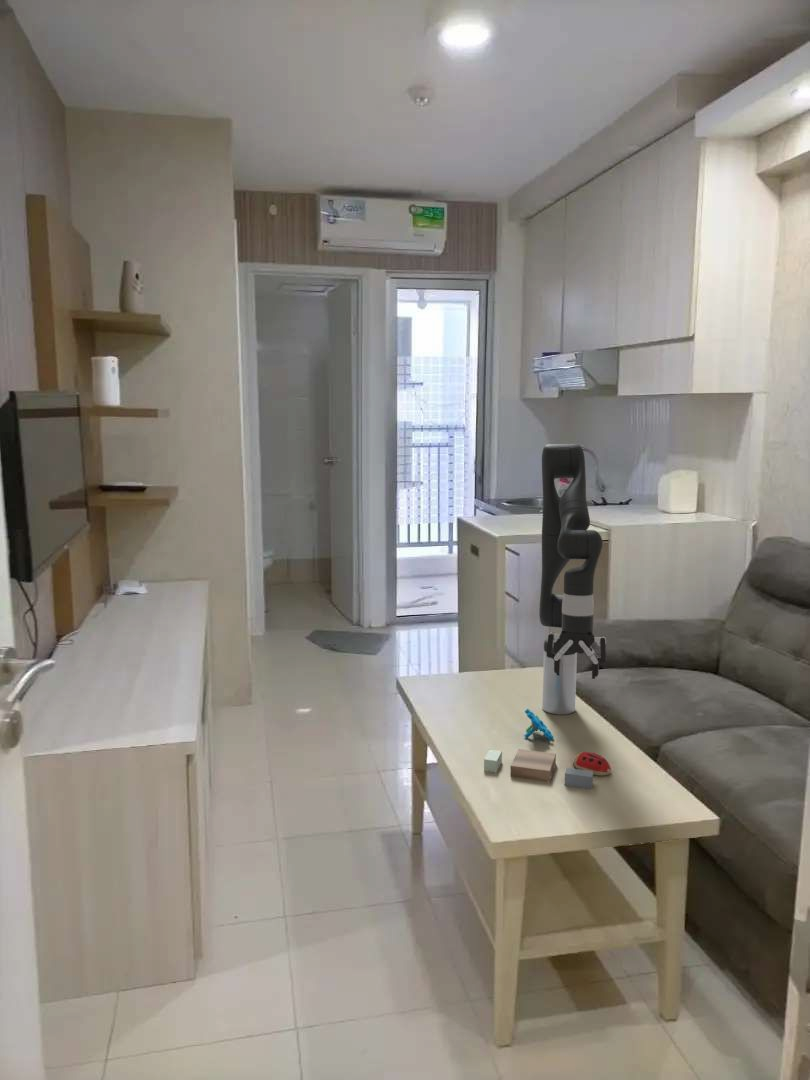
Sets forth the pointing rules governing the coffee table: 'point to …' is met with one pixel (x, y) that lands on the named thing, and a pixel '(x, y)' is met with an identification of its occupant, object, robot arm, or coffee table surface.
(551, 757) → the walnut block
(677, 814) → the coffee table surface
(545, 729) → the gear
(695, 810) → the coffee table surface
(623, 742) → the coffee table surface
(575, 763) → the ladybug figurine
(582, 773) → the slate brick
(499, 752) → the sage brick
